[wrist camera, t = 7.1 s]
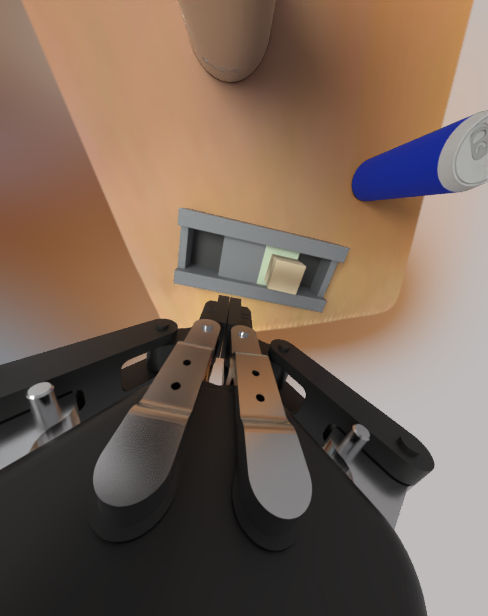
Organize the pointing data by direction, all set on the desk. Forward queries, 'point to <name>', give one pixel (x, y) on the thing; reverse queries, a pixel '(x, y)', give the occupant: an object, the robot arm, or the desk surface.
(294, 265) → the birch block
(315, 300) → the box
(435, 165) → the blue cylinder
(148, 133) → the desk surface
